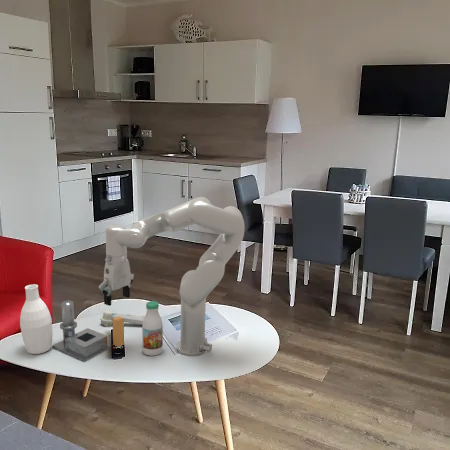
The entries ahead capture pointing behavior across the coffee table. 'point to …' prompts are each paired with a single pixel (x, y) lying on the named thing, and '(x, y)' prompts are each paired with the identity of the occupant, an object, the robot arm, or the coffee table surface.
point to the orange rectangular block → (118, 331)
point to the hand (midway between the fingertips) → (117, 300)
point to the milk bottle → (152, 330)
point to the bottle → (35, 322)
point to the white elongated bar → (109, 315)
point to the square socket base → (79, 337)
